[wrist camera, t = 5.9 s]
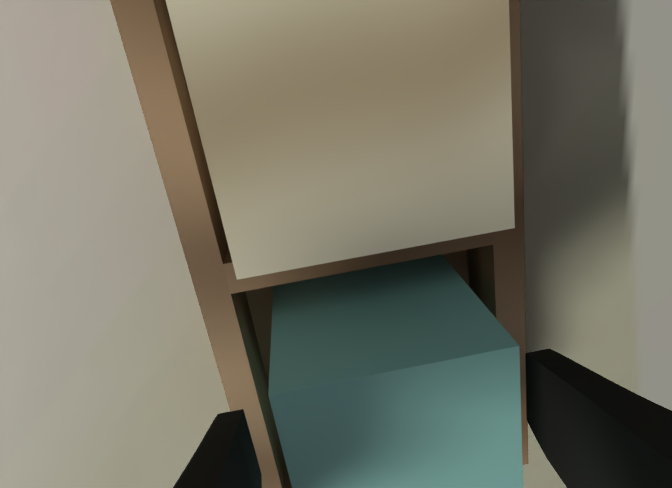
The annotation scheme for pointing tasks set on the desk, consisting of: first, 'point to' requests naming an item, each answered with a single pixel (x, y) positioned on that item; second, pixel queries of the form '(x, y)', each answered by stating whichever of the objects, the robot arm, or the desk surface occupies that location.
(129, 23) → the walnut puzzle board
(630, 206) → the desk surface
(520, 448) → the teal block
